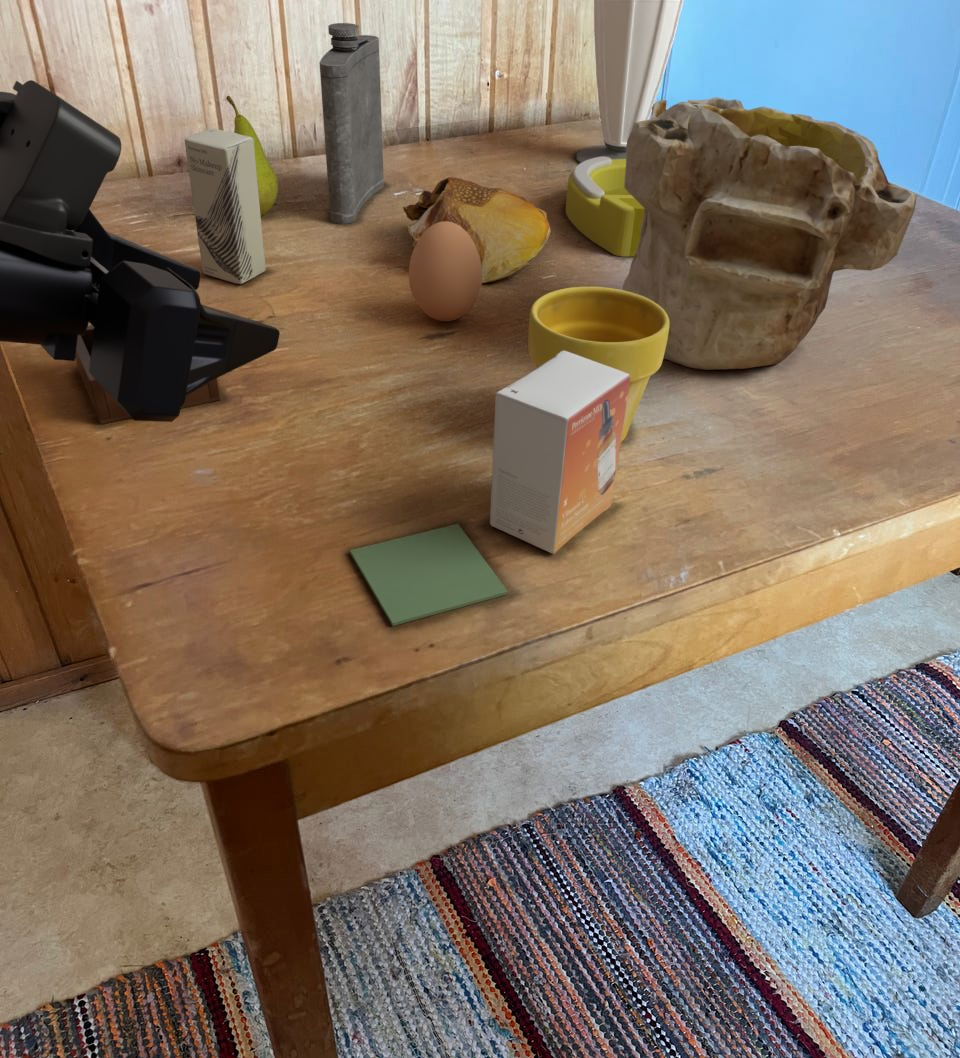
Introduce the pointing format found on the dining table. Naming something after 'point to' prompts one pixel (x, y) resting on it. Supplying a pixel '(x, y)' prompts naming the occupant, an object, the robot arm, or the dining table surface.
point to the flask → (351, 120)
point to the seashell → (484, 223)
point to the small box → (557, 449)
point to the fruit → (258, 164)
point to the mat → (427, 574)
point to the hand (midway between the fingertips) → (236, 307)
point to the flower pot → (602, 333)
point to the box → (226, 204)
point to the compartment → (106, 404)
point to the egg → (445, 272)
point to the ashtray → (604, 205)
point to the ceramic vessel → (752, 225)
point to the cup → (629, 65)
